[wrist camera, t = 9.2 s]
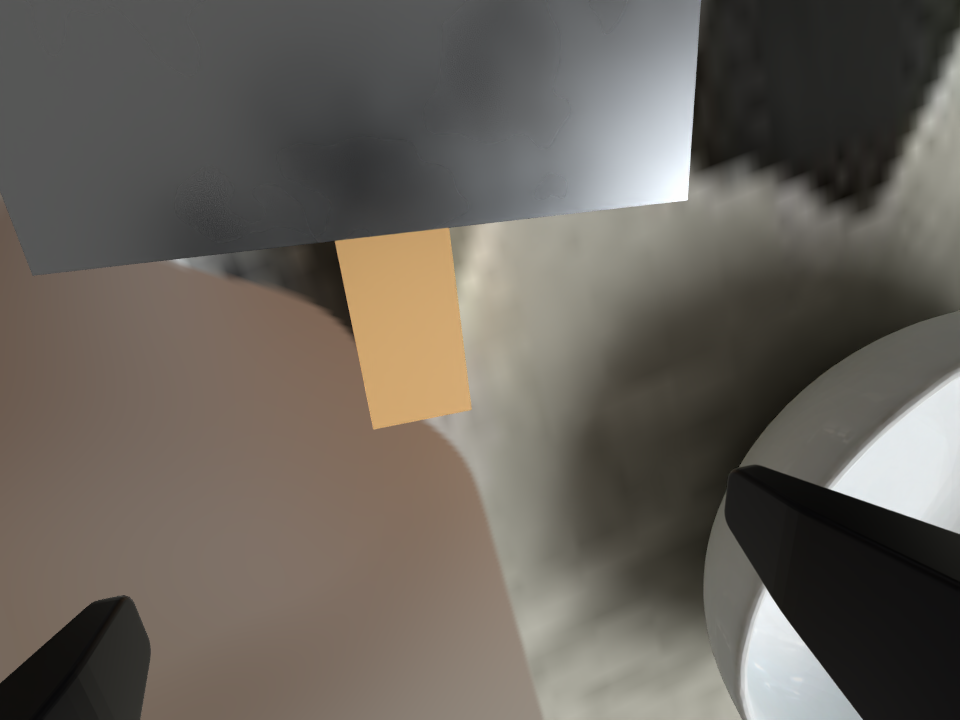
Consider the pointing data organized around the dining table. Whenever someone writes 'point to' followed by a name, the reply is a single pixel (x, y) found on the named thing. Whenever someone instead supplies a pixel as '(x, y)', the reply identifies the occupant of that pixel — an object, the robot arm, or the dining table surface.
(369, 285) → the plug
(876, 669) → the robot arm
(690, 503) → the dining table surface
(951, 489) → the serving bowl
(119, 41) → the grey arch block
